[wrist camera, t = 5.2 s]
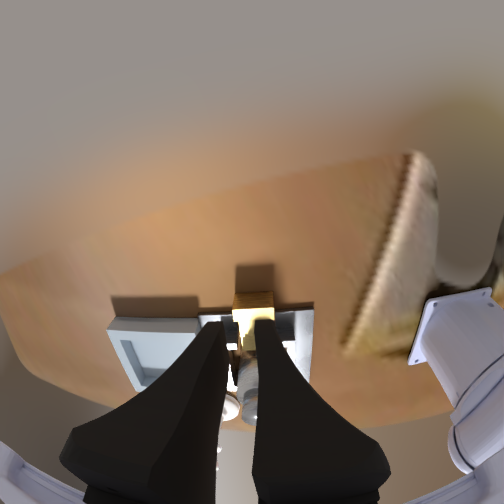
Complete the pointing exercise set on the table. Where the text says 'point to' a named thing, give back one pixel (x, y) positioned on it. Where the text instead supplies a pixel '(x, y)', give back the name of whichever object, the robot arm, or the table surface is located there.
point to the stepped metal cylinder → (248, 386)
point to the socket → (289, 330)
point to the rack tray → (150, 345)
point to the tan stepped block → (251, 314)
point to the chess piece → (228, 414)
